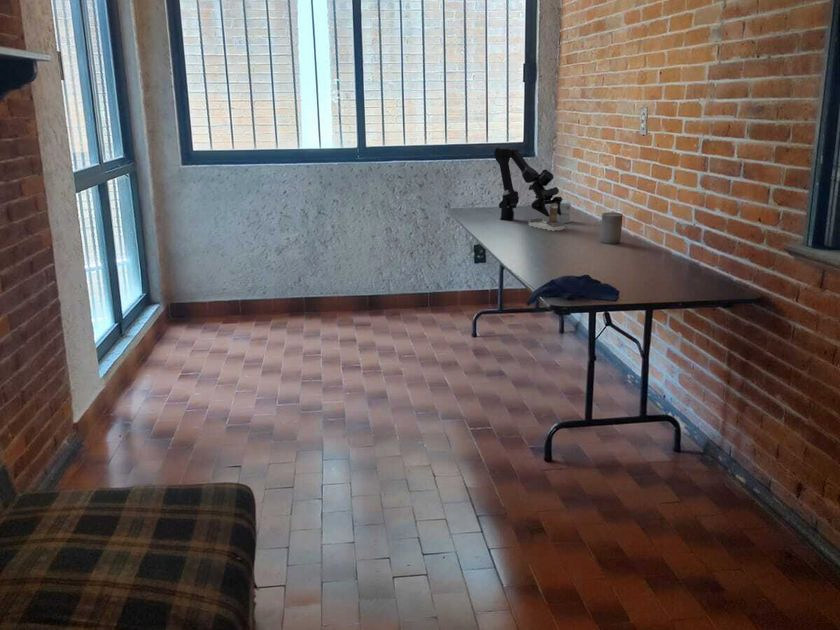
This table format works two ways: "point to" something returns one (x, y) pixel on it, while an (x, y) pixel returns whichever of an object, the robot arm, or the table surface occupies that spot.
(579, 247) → the table surface
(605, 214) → the pillar candle
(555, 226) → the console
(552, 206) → the fader
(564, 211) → the light bulb box
